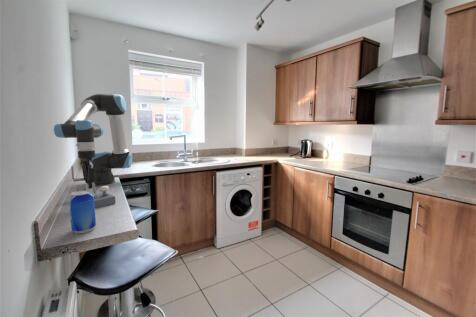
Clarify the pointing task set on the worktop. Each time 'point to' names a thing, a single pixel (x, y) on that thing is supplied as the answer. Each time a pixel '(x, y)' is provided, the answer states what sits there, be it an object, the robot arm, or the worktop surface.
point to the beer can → (82, 211)
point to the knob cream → (104, 190)
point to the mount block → (103, 200)
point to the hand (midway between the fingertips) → (90, 194)
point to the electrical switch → (83, 187)
